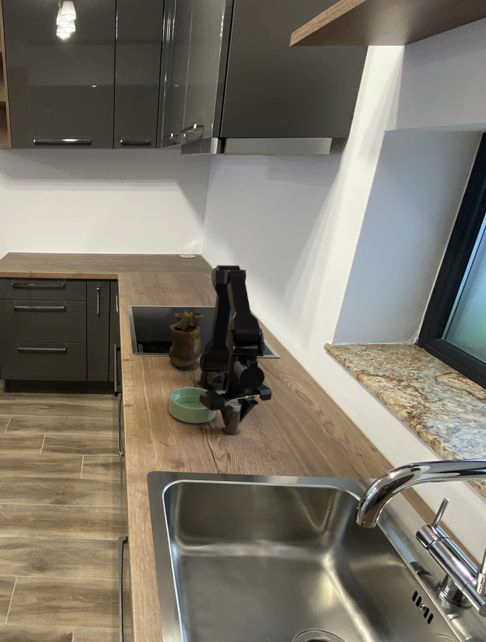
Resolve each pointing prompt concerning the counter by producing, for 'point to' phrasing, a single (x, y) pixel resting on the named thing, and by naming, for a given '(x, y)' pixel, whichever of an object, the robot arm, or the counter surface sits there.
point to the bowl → (189, 406)
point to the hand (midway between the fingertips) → (231, 423)
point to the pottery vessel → (186, 340)
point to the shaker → (234, 418)
